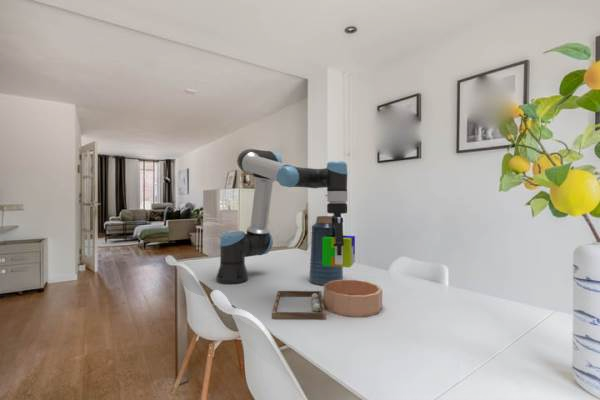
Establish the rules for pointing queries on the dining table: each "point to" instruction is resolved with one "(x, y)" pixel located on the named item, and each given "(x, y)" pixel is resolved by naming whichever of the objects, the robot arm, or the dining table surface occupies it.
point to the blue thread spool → (317, 270)
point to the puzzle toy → (329, 251)
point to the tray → (298, 314)
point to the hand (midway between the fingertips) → (337, 260)
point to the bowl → (352, 298)
